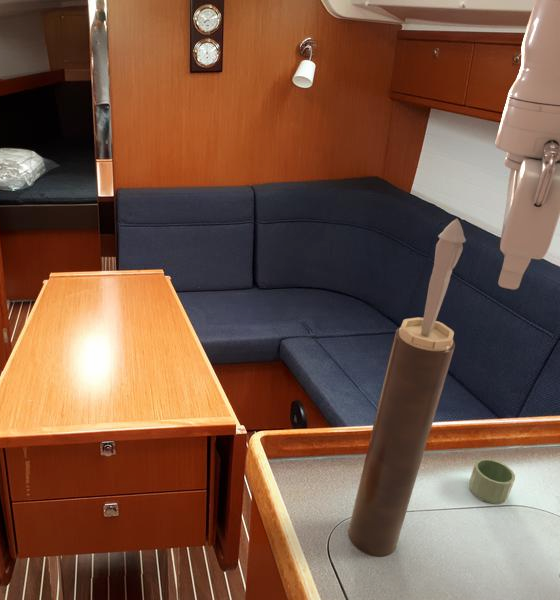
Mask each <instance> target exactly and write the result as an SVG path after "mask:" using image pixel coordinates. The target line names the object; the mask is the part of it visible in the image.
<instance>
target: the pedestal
mask: <svg viewBox="0 0 560 600" xmlns="http://www.w3.org/2000/svg"><path fill="white" fill-rule="evenodd" d="M399 329H400V327H398V328H397V329H396V331H395V333H394V337H393V342H392V346H391V350H390V354H389V358H388V363H387V367H386V370H385V371H386V372H385V375H384V379H383V383H382V384H383V385H382V388H381V392H380V396H379V397H380V398H379V400H378V405H377V409H376V413H375V416H374V421H373V425H372V429H371V434H370V438H369V442H368V446H367V450H366V453H365V454H366V455H365V459H364V463H363V468H362V472H361V476H360V479H359V484H358V487H357V492H356V496H355V500H354V505H353V509H352V513H351V518H350V522H349V526H348V530H347V533H348V537H349V539H350V541H351V543H352V544H353V545H354V546H355V547H356V548H357V549H358V550H360V551H361V552H362V553H364V554H367V555H370V556H373V557H387V556H389V555H391V554H392V553H394V551H395V550H396V548H397V545H398V542H399V540H400V539H399V538H400V535H401V533H402V532H401V531H402V528H403V525H404V521H405V518H406V514H407V511H408V508H409V504H410V501H411V498H412V495H413V491H414V488H415V484H416V480H417V477H418V473H419V470H420V467H421V464H422V461H423V457H424V452H425V450H426V447H427V443H428V439H429V436H430V433H431V429H432V426H433V423H434V419H435V416H436V412H437V409H438V406H439V402H440V399H441V396H442V392H443V390H444V389H443V388H444V387H445V386H444V385H445V382H446V379H447V376H448V372H449V369H450V365H451V362H452V359H453V354H454V351H455V348H456V343H455V340H453V345H452V347H451V348H450V349H448V350H445V351H427V350H422V349H418V348H416V347H413V346H411V345H409V344H407V343H405V342H404V341H403V340H402V339H401V338H400V337H399Z"/></svg>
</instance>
